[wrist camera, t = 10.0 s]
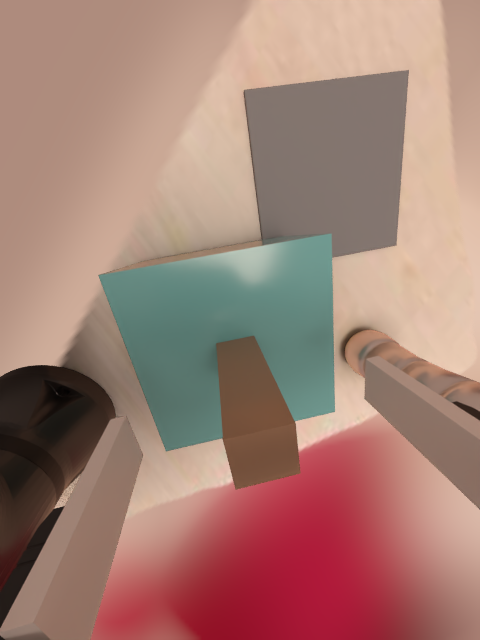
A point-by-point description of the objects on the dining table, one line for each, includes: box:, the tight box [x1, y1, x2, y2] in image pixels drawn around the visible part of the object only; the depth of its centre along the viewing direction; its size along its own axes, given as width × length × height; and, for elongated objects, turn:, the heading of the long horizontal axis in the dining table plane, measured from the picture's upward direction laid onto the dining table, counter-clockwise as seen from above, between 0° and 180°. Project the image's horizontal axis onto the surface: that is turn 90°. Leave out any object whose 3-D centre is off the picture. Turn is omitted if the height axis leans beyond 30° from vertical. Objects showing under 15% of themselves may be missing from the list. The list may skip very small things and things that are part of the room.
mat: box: [244, 70, 409, 257], centre depth 25 cm, size 17×17×1 cm
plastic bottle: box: [345, 330, 480, 411], centre depth 24 cm, size 6×7×20 cm
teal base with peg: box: [99, 233, 335, 489], centre depth 19 cm, size 16×16×20 cm
